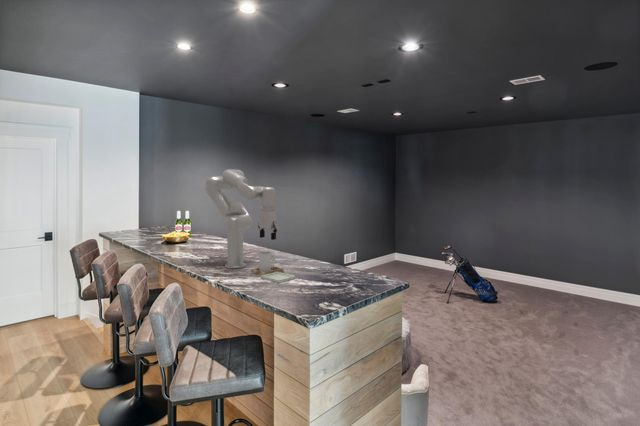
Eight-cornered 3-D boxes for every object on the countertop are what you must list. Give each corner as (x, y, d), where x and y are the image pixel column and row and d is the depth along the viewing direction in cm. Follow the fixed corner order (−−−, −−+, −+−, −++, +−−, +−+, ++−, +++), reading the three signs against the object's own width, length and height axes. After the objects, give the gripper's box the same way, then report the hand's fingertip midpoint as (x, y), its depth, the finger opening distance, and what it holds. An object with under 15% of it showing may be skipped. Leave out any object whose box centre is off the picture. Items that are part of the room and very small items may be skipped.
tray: (261, 278, 204) (261, 275, 204) (277, 274, 213) (277, 271, 213) (279, 283, 195) (279, 280, 195) (294, 278, 204) (294, 275, 204)
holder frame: (251, 273, 215) (251, 269, 215) (270, 268, 226) (270, 265, 226) (264, 276, 207) (264, 272, 207) (283, 271, 219) (283, 268, 218)
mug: (262, 275, 211) (262, 254, 210) (257, 272, 216) (257, 252, 215) (277, 272, 217) (278, 252, 216) (272, 270, 222) (272, 250, 221)
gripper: (253, 208, 215) (252, 237, 217) (273, 210, 204) (273, 241, 206) (263, 207, 221) (262, 235, 223) (283, 209, 210) (282, 239, 212)
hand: (267, 238), depth 214 cm, fingers open, 9 cm apart
